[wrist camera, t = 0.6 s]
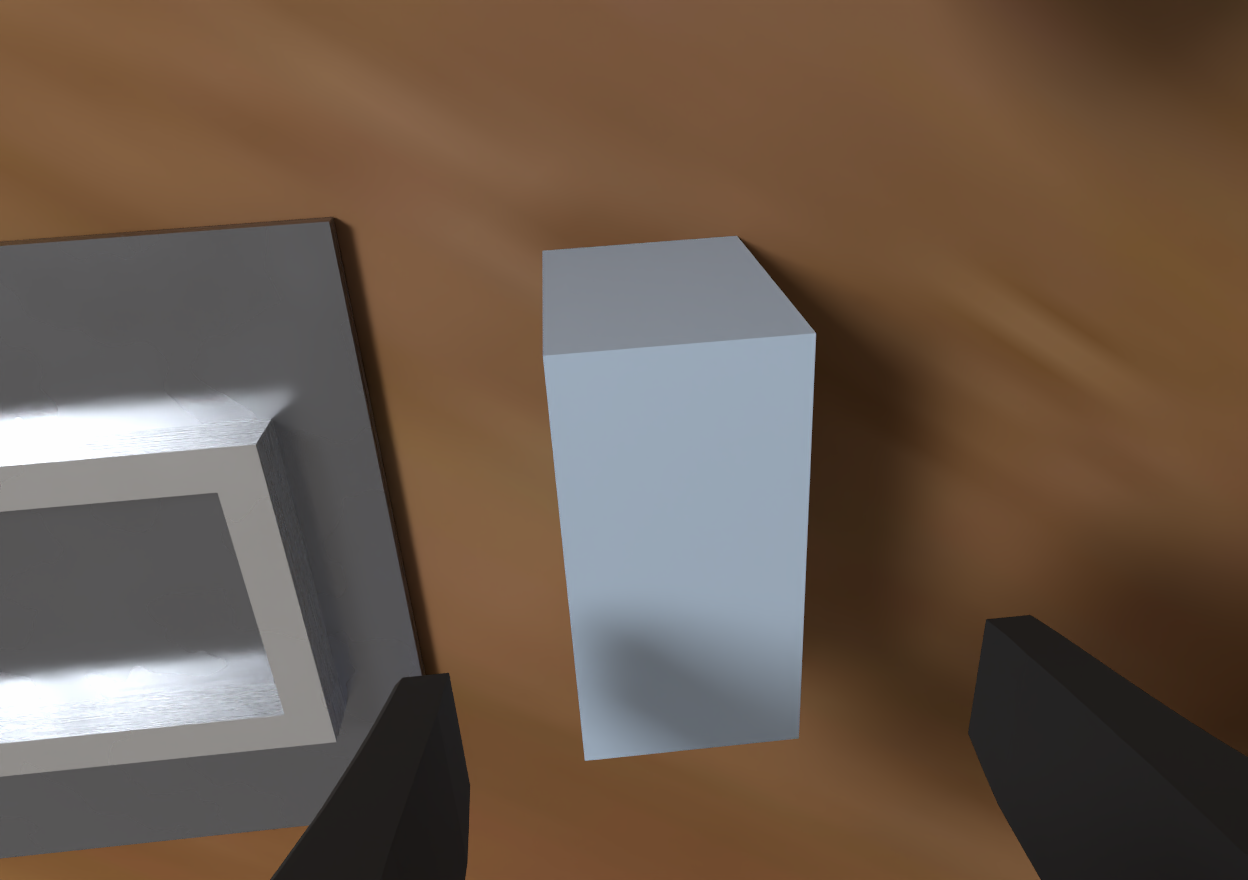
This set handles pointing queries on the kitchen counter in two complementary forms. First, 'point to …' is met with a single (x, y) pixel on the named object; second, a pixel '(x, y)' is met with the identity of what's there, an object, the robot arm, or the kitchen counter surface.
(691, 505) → the light blue block
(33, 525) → the pocket plate
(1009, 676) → the robot arm
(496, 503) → the kitchen counter surface
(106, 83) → the kitchen counter surface
